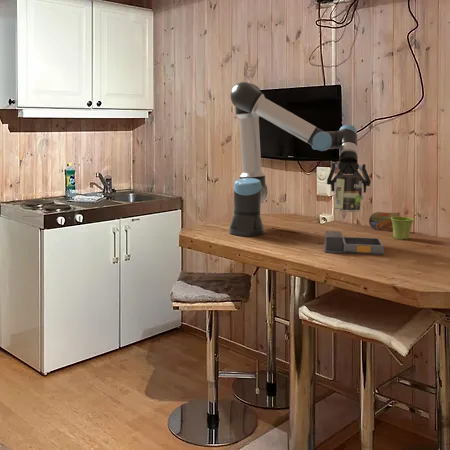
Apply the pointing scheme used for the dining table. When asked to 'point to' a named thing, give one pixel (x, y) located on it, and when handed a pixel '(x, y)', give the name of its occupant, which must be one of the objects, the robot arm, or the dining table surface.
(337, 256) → the dining table surface
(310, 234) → the dining table surface
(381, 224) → the tin
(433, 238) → the dining table surface
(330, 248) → the grey tray
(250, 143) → the robot arm
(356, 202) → the coffee can
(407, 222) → the plant pot
